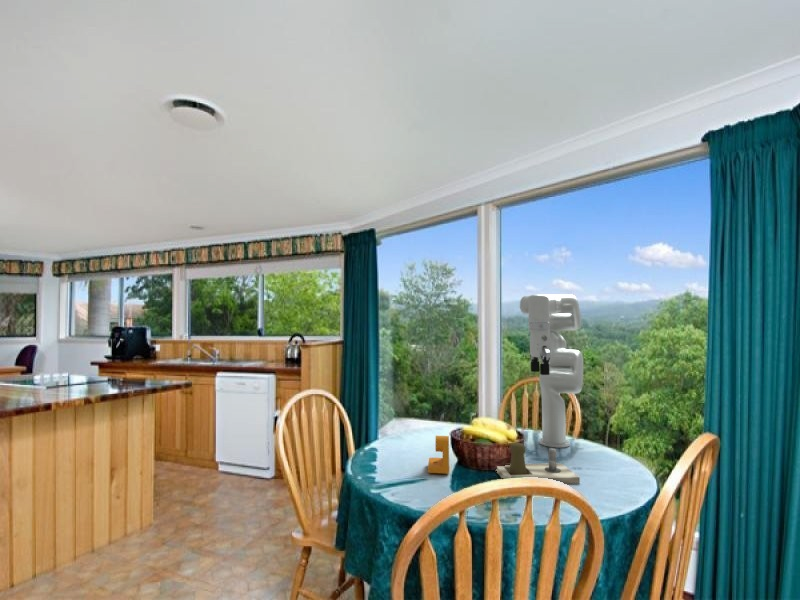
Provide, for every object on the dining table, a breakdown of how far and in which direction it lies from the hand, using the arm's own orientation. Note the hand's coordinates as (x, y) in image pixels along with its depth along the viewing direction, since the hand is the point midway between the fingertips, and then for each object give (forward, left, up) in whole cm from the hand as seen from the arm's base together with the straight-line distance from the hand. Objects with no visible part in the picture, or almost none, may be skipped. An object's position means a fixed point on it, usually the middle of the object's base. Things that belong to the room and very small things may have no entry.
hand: (539, 373), depth 161 cm
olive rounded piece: (+12, -13, -34) cm, 38 cm away
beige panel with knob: (+13, -7, -33) cm, 36 cm away
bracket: (+5, -39, -34) cm, 52 cm away
